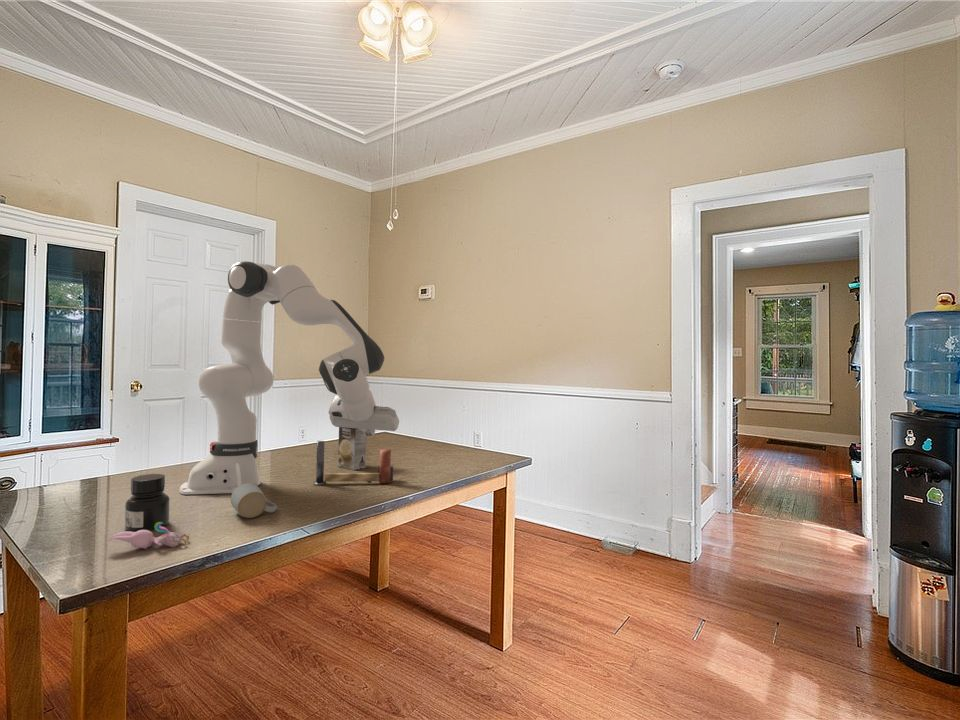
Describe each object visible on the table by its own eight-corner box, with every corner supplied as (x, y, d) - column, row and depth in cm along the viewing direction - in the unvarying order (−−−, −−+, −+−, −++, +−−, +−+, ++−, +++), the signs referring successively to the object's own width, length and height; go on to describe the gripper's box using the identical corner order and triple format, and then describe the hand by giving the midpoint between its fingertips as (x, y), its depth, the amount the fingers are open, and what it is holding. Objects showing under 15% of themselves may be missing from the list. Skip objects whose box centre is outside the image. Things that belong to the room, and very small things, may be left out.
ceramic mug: (237, 522, 121) (238, 492, 121) (229, 513, 127) (231, 484, 127) (280, 515, 128) (281, 486, 128) (271, 506, 134) (272, 479, 134)
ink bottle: (121, 524, 117) (122, 476, 117) (164, 516, 123) (164, 470, 123) (128, 536, 110) (129, 484, 110) (173, 527, 117) (174, 478, 116)
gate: (323, 484, 156) (324, 451, 155) (325, 481, 159) (326, 449, 159) (389, 483, 158) (390, 451, 158) (390, 480, 162) (391, 449, 162)
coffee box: (336, 467, 180) (337, 424, 180) (349, 463, 186) (350, 422, 185) (353, 470, 175) (354, 427, 175) (366, 467, 181) (367, 425, 181)
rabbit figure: (189, 544, 110) (112, 541, 105) (194, 519, 110) (117, 514, 105) (182, 556, 104) (100, 552, 99) (188, 528, 104) (106, 524, 99)
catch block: (377, 481, 162) (378, 466, 162) (378, 479, 164) (378, 465, 164) (392, 481, 162) (393, 466, 162) (392, 479, 165) (393, 465, 165)
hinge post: (313, 486, 154) (314, 442, 154) (312, 482, 158) (313, 440, 158) (326, 485, 156) (327, 442, 156) (325, 481, 160) (326, 440, 159)
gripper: (397, 399, 139) (405, 427, 149) (330, 395, 142) (342, 423, 152) (391, 416, 135) (400, 444, 145) (322, 412, 137) (335, 439, 147)
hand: (370, 433), depth 148 cm, fingers closed
